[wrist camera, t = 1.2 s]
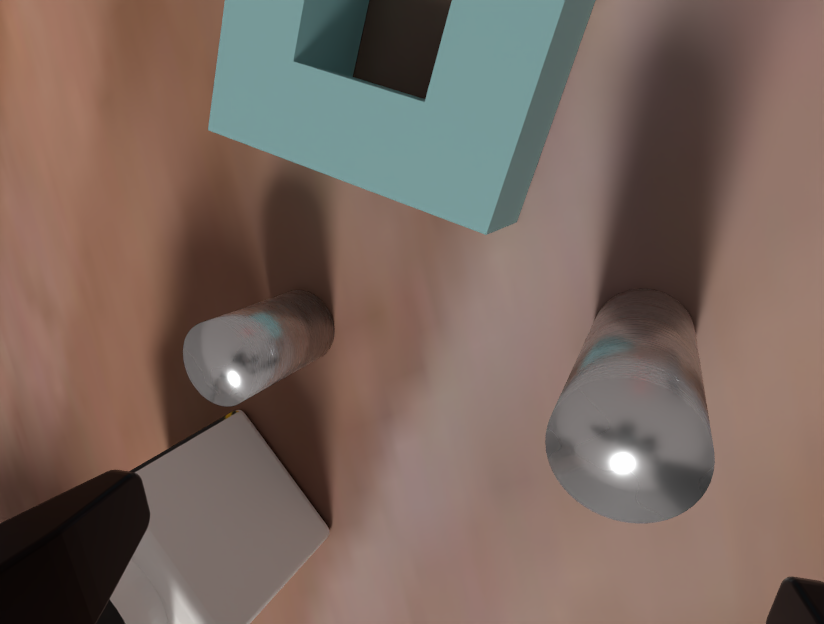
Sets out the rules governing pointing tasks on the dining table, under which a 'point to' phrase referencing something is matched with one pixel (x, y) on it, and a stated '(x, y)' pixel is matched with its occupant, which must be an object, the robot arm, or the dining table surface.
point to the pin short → (256, 346)
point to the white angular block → (215, 531)
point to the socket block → (402, 100)
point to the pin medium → (634, 413)
